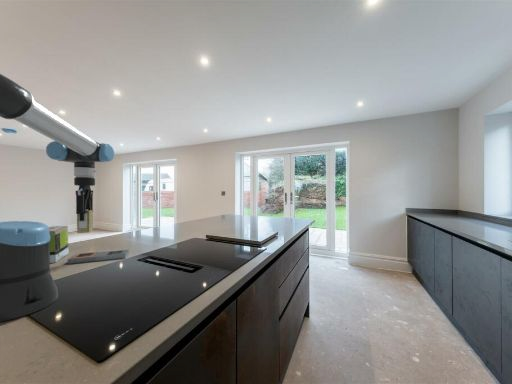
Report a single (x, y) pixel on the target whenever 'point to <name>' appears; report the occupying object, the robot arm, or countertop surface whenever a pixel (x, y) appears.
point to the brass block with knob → (89, 222)
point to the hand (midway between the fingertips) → (85, 226)
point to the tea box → (58, 242)
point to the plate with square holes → (98, 256)
